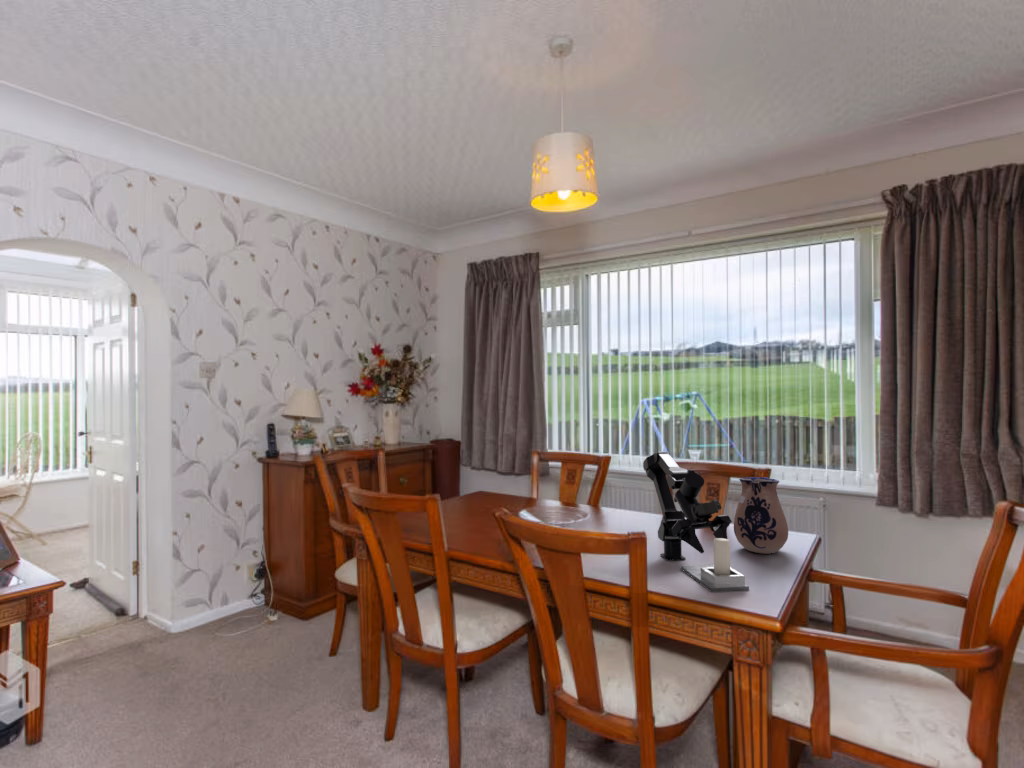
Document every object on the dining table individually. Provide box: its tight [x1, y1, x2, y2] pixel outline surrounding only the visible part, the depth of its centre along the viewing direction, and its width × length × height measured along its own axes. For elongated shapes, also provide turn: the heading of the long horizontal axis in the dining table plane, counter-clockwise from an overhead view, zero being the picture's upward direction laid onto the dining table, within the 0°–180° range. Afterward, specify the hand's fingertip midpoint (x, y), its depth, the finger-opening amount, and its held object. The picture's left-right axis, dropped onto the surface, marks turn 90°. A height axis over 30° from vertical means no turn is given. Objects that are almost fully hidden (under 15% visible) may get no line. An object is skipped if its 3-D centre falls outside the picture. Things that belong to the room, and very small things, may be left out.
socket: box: [680, 563, 750, 593], centre depth 164 cm, size 20×11×4 cm, turn 7°
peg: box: [713, 537, 731, 576], centre depth 158 cm, size 4×4×12 cm
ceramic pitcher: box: [733, 476, 789, 555], centre depth 195 cm, size 18×21×25 cm
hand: (715, 551), depth 161 cm, fingers open, 9 cm apart
